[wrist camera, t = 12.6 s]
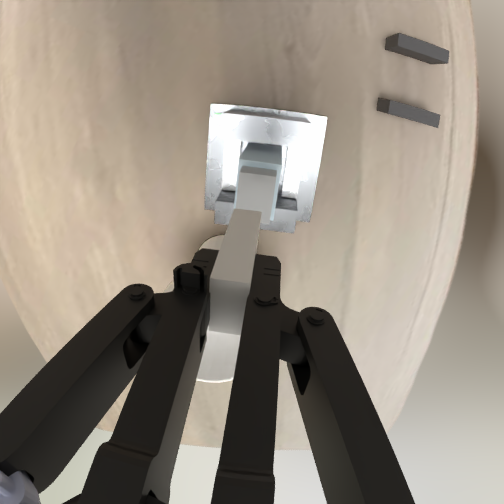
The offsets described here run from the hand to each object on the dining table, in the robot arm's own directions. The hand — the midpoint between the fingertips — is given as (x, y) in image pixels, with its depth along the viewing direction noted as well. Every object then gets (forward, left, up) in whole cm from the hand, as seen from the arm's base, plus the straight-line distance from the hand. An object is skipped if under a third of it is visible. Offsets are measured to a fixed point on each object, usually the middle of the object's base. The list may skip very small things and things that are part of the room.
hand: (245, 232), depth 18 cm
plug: (+1, 0, -18) cm, 18 cm away
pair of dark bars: (-12, +14, -18) cm, 26 cm away
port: (0, 0, -18) cm, 18 cm away
